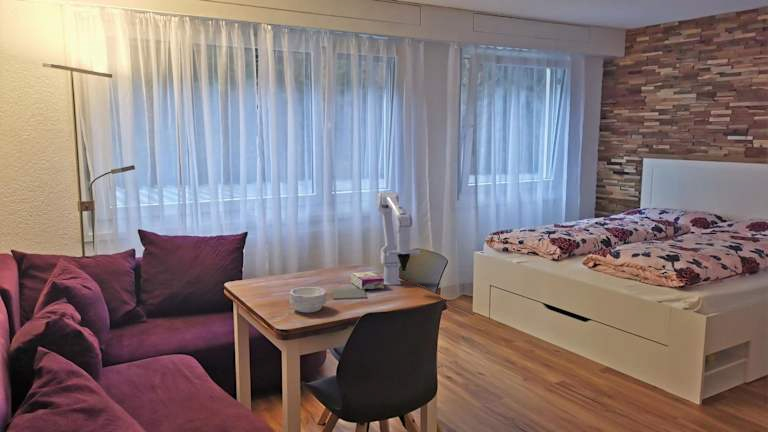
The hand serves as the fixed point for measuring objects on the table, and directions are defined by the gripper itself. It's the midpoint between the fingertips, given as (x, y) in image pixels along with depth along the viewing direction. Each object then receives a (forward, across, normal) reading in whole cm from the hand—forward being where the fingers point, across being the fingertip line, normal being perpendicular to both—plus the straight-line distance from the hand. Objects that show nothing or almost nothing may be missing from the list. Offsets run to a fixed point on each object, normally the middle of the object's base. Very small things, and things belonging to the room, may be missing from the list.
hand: (403, 270), depth 270 cm
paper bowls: (+11, -43, -20) cm, 49 cm away
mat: (+10, -25, 0) cm, 27 cm away
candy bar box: (+8, -13, +6) cm, 16 cm away
